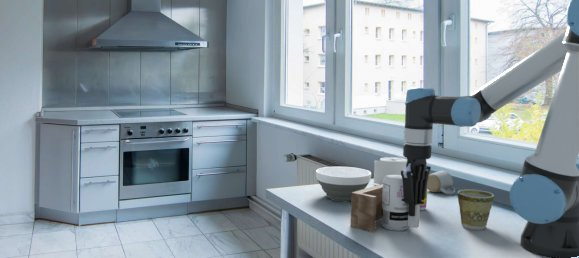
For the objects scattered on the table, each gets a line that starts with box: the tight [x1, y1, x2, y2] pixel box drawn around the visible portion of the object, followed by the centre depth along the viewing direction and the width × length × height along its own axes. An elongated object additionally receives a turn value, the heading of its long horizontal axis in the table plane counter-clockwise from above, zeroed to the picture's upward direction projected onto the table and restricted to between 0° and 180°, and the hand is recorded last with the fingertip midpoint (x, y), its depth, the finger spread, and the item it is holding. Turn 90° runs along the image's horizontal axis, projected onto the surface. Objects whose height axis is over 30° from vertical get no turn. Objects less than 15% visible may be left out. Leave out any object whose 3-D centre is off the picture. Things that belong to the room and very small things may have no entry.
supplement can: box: [380, 174, 410, 232], centre depth 143 cm, size 8×8×15 cm
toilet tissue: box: [373, 156, 407, 185], centre depth 200 cm, size 11×12×10 cm
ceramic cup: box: [457, 188, 495, 231], centre depth 146 cm, size 13×10×10 cm
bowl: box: [315, 166, 372, 202], centre depth 176 cm, size 20×20×10 cm
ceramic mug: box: [427, 170, 456, 196], centre depth 188 cm, size 11×8×8 cm
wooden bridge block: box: [349, 184, 383, 233], centre depth 147 cm, size 8×18×10 cm, turn 137°
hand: (413, 226), depth 140 cm, fingers closed
